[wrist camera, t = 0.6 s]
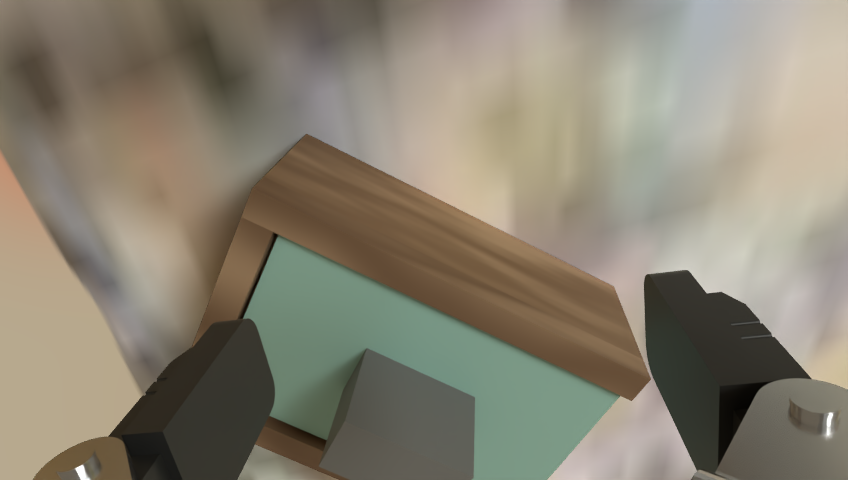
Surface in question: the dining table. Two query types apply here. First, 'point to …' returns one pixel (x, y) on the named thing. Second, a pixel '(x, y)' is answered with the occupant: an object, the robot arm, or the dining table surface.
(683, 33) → the dining table surface
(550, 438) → the cover plate
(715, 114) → the dining table surface
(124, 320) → the dining table surface
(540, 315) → the lid box
